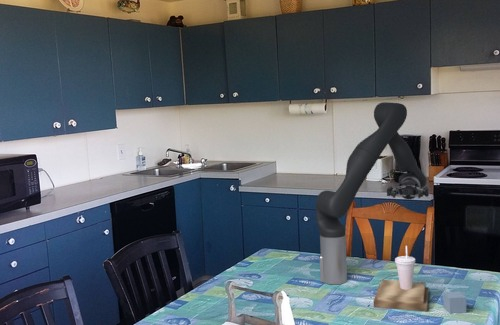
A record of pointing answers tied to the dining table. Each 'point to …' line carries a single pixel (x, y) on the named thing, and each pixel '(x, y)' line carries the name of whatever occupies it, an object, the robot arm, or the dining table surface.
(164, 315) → the dining table surface
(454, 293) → the slate cube
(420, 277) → the dining table surface
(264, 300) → the dining table surface
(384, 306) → the plinth
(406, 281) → the smoothie
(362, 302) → the dining table surface
